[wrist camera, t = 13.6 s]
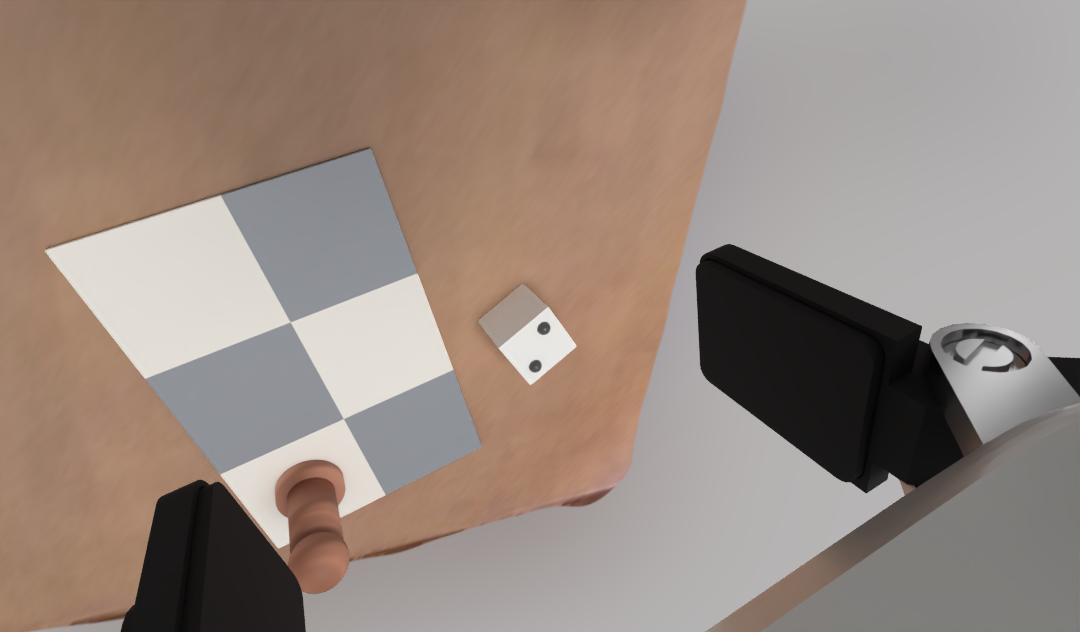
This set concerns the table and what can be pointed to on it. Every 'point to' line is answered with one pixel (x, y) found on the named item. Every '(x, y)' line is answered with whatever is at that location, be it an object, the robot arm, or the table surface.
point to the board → (284, 332)
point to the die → (527, 333)
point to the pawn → (314, 523)
